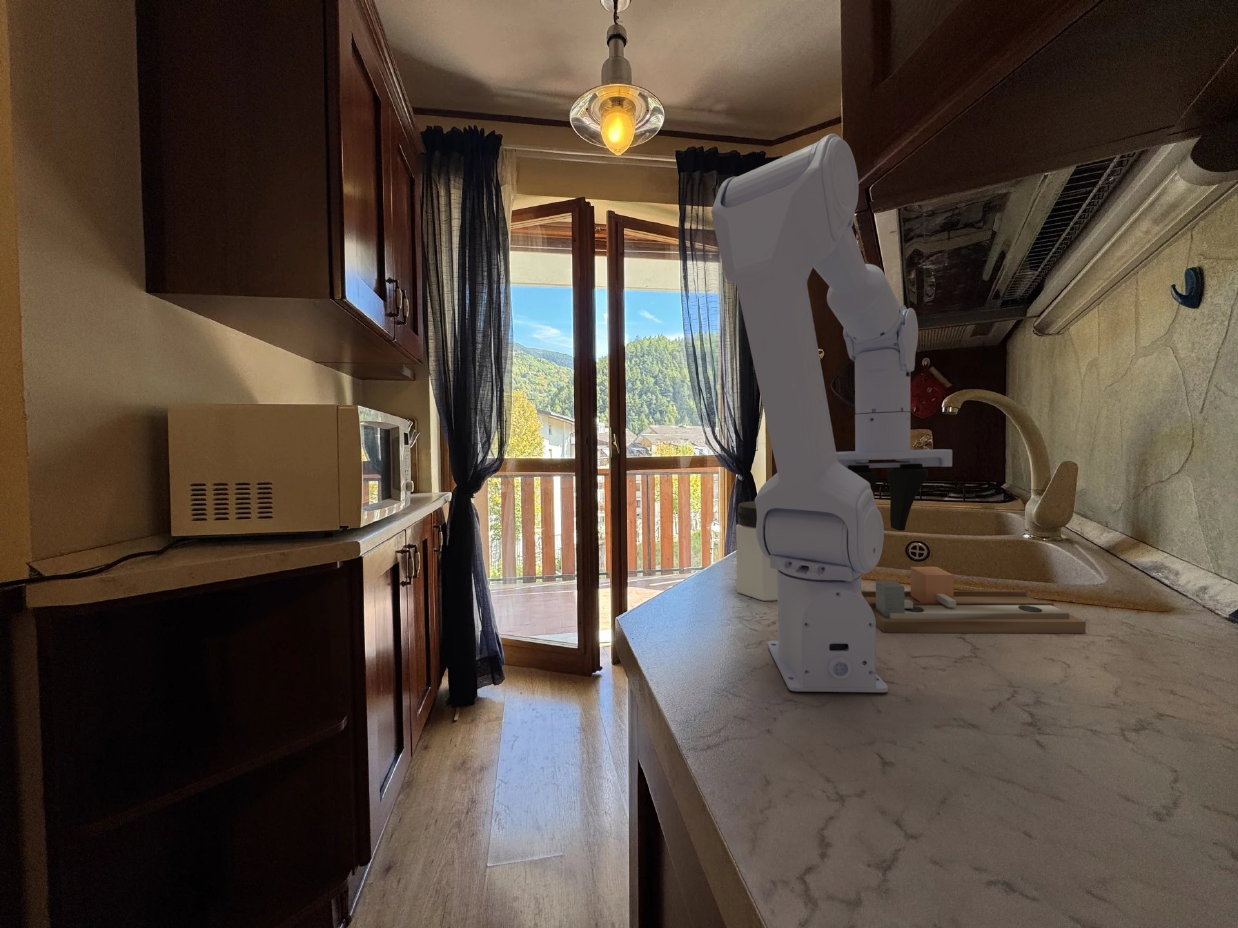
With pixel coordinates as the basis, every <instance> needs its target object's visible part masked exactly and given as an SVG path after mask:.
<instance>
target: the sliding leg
mask: <svg viewBox="0 0 1238 928" xmlns="http://www.w3.org/2000/svg"><path fill="white" fill-rule="evenodd" d="M954 578H955V577H954V574H953V573H950V572H948V571H946V570H944V569H943V568H940V567H937V566H911V567H910V591H911V596H912V597H914V598H915V599H917V600H918V601H920V602H922V603H932V602H941V603H942V604H944V605H945V606H947V607H956V601H955V600H954V591H955V589H954V587H955V586H954V584H955V583H954V582H955V579H954Z"/></svg>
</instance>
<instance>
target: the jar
mask: <svg viewBox="0 0 1238 928" xmlns="http://www.w3.org/2000/svg"><path fill="white" fill-rule="evenodd" d="M736 513H737V514H736V515H737V524H735V538H736V541H735V543H736V544H735V545H736V550H735V551H736V591H737V593H738V594H741V595H744V596H746V597H750V598H753V599H756V600H759V601H762V602H770V601H778V585H777V569H774V568H771V567H770V559H769V558H767V557H766V556H765V555H764V554H763V552H762V550H761V548H760V546H759V544H758V540H757V535H756V524H757V510H756V504H755V500H752V501H751V500H750V501H745V502H740V503H738V505H737V512H736Z"/></svg>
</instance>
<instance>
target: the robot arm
mask: <svg viewBox="0 0 1238 928" xmlns="http://www.w3.org/2000/svg"><path fill="white" fill-rule="evenodd" d="M859 192H860V191H859V177H858V169H857V163H856V161H855V157H854V154H853V152H852V149H851V147H850V146H849V144H848V143H847V141H845V139H843V138H841V137H840V136H839V135H837V134H836V133H830V134H827V135H825V136H824V137H822V138H821V139H820V140H819V141H816V142H815V143H812V144H810V145H808V146H805V147H803V148H801V149H798V150H795V151H793V152H791V153H789V154H787V155H785V156H782V157H779V158H778V159H775V160H773V161H771V162H769V163H766V164H764V165H762V166H758V167H756V168H755V169H752V170H750V171H748V172H745V173H743V174H741V175H739V176H732V177H729V178H727V179H725V180H724V181H723V182H722V183H721V185H720V187H719V188H718V191H717V194H716V197H715V200H714V203H713V204H712V205H713V206H712V208H711V209H710V210H711V211H710V213H711V217H712V222H713V227H714V228H713V229H714V232H715V238H716V241H717V245H718V249H719V255H720V259H721V262H722V263H721V264H722V267H723V270H724V275H725V279H726V281H727V282H730V283H732V284H735V285H736V288H737V293H738V294H737V295H738V298H739V302H740V303H739V304H740V307H741V311H742V315H743V316H742V317H743V321H744V326H745V330H746V334H747V339H748V343H749V348H750V354H751V358H752V361H753V362H752V363H753V366H754V370H755V375H756V379H757V385H758V389H759V394H760V399H761V403H762V408H763V413H764V417H765V421H766V426H767V430H768V431H767V432H768V434H769V435H768V436H769V439H770V445H771V449H772V453H773V458H774V462H775V467H776V473H775V474H774V475H773V476H772V477H770V478H769V479H768V480H767V481H765V482H764V483H763V485H762V486H761V487H760V488H759V490H758V492H757V495H756V497H755V498H754V501H755V504H756V510H757V524H756V535H757V540H758V544H759V546H760V548H761V550H762V552H763V554H764V555H765V556H766V557H767V558H769V559H770V567H771V568H774V569H777V585H778V600H777V638H778V639H777V640H768V641H766V642H767V648H768V650H769V652H770V654H771V656H772V658H773V660H774V662H775V664H776V666H777V668H778V670H779V672H780V674H781V676H782V678H783V680H784V682H785V684H786V686H787V689H789V690H790V691H792V692H822V693H823V692H824V693H825V692H827V693H829V692H831V693H833V692H834V693H837V692H838V693H887V692H888V691H889V687H888V684H887V683H885V681H884V680H883V679H882V678H881V677H880V676H879V674H878V673H877V667H876V666H877V642H876V641H877V634H876V633H877V628H876V627H877V626H876V621H875V616H874V613H873V611H872V609H871V607H870V606H869V604H868V603H867V602H866V600H865V599H864V597H863V595H862V592H861V591H862V575H866V574H869V573H870V572H871V571H872V570H873V569H874V568H876V567H877V565H878V563H879V562H880V559H881V556H882V552H883V547H884V535H885V533H884V532H885V531H884V530H885V528H884V527H885V526H884V521H883V520H884V519H883V515H882V513H881V511H880V510H879V509H878V506H877V504H876V500H875V495H876V488H877V481H878V477H879V475H878V474H877V473H875V472H873V470H872V469H876V468H877V469H878V468H880V469H881V468H887V470H886V477H887V481H888V482H887V483H888V487H889V497H890V498H889V499H890V503H889V505H890V509H889V521H890V528H892V529H894V530H896V531H903V532H904V531H905V530H906V525H907V522H908V518H909V515H910V511H911V509H912V506H913V504H914V501H915V499H916V496H917V495H918V493H919V491H920V489H921V488H922V486H923V485H924V484H925V482H926V480H927V479H928V475H929V474H928V473H929V470H928V469H927V468H923V467H941V468H942V467H945V468H946V467H953V450H952V449H943V448H942V449H941V448H940V449H939V448H938V449H911V372H913V371H915V366H916V353H917V349H918V348H917V347H918V341H919V340H918V339H919V325H918V324H919V323H918V319H917V314H916V311H915V309H914V308H912V307H910V308H907V306H906V305H905V304H900V302H899V300H898V298H897V296H896V295H895V293H894V291H893V288H892V286H891V285H890V282H889V281H888V279H887V277H886V275H885V273H884V271H883V270H882V269H881V268H880V267H879V266H878V265H875V264H873V263H872V264H871V263H865V260H864V257H863V254H862V251H861V249H860V246H859V243H858V241H857V238H856V235H855V233H854V229H853V225H854V221H855V220H854V219H855V212H856V209H857V205H858V202H859ZM813 269H814V270H815V271H816V273H817V274H818V275H819V276H820V278H822V279H823V281H824V282H825V283H826V284H827V286H828V290H827V292H826V293H827V294H826V302H827V305H828V308H830V311H832V313H833V314H834V316H835V317H836V318H837V319H836V320H838V322H839V323H840V324H841V326H842V327H843V330H842V331H843V332H842V336H843V339H844V341H845V345H846V350H847V354H848V357H849V359H850V360H851V361H853V362H854V391H855V392H854V409H855V410H854V413H855V414H854V427H855V428H854V430H855V431H854V436H855V437H854V443H855V444H854V445H855V446H854V447H855V448H854V449H855V450H854V451H837V449H836V444H835V438H834V432H833V426H832V420H831V416H830V415H831V414H830V409H829V408H830V407H829V403H828V398H827V397H828V396H827V392H826V386H825V381H824V375H823V370H822V364H821V363H822V362H821V358H820V352H819V346H818V341H817V334H816V330H815V323H814V317H813V311H812V306H811V299H810V295H809V288H808V280H809V277H810V275H811V272H812V271H813ZM869 460H872V461H873V460H874V461H875V460H876V461H877V460H879V461H880V460H883V461H884V460H895V461H897V462H876V463H875V462H873V463H872V462H871V463H869Z"/></svg>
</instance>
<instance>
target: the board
mask: <svg viewBox="0 0 1238 928" xmlns="http://www.w3.org/2000/svg"><path fill="white" fill-rule="evenodd" d="M861 592H862V595H863V597H864V599H865V600H866V602H867V603H868V604H869V606H870V607H871V609H872V611H873V613H874V616H875V621H876V627H877V628H878V630H880V631H882V632H883V633H901V634H902V633H904V634H905V633H907V634H908V633H916V634H917V633H920V634H922V633H929V634H930V633H932V634H933V633H934V634H936V633H938V634H939V633H940V634H941V633H943V634H947V633H949V634H950V633H951V634H952V633H953V634H955V633H956V634H957V633H958V634H960V633H962V634H963V633H964V634H967V633H968V634H971V633H973V634H974V633H976V634H988V633H989V634H1010V633H1011V634H1086V629H1087V627H1086V625H1087V622H1086V621H1085V620H1083V619H1080V618H1078V617H1076V616H1073V615H1071V614H1070V613H1069V612H1067V611H1065V610H1062V609H1061V608H1058V607H1056V606H1055V603H1054V602H1053V601H1051V602H1050V601H1049V602H1048V601H1047V602H1045V601H1039V600H1037V599H1035V598H1033V597H1030V596H1029V595H1027V594H1028V592H1027V591H1026V590H954V600H955V601H956V607H947V606H945V605H944V604H942V603H941V602H932V603H922V602H920V601H918V600H917V599H915V598H914V597H912V596H911V590H904V600H911V601H912V602H913V608H904V613H890V619H885V618H884V617H883V616H881V615H880V614H879V613H878V612H877V611H876V590H861Z"/></svg>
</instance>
